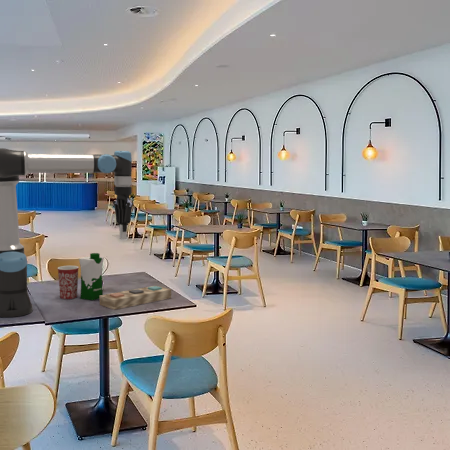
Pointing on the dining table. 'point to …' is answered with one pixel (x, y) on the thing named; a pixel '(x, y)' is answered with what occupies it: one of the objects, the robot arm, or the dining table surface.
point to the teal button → (154, 288)
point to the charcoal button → (136, 291)
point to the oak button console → (134, 298)
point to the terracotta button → (116, 295)
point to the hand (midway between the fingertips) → (123, 238)
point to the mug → (68, 281)
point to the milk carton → (91, 276)
